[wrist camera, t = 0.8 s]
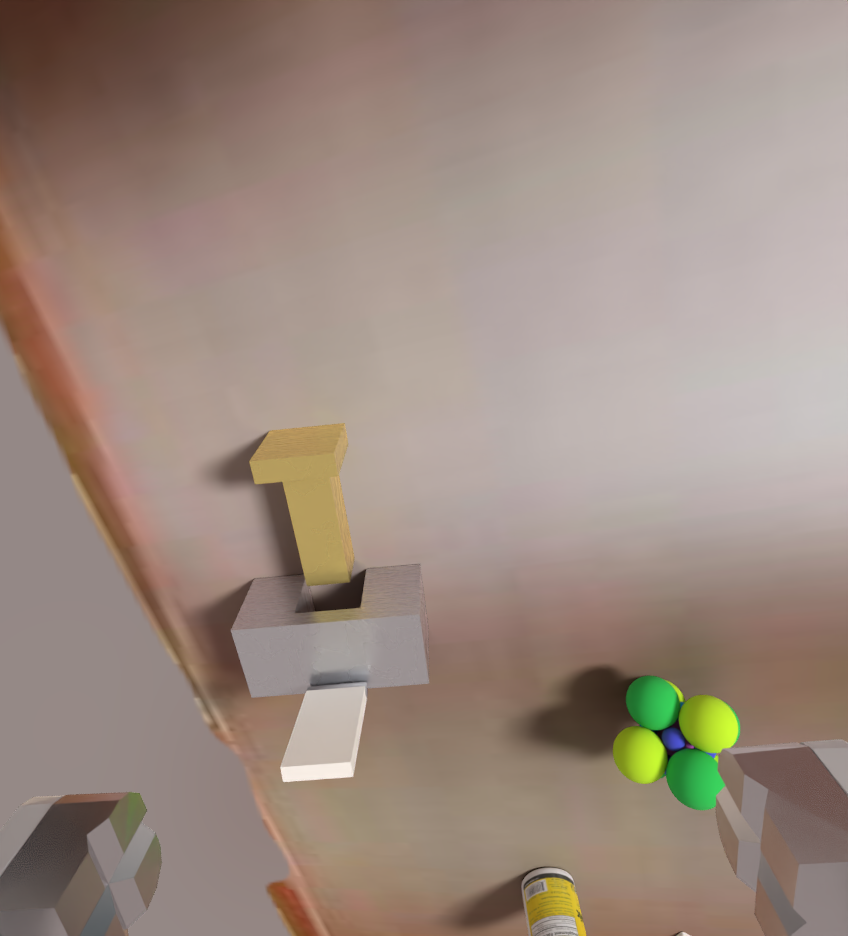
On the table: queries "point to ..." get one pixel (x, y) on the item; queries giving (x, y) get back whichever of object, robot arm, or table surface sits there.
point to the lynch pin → (311, 495)
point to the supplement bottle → (551, 904)
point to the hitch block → (333, 635)
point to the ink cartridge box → (682, 934)
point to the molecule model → (675, 740)
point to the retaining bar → (326, 733)
